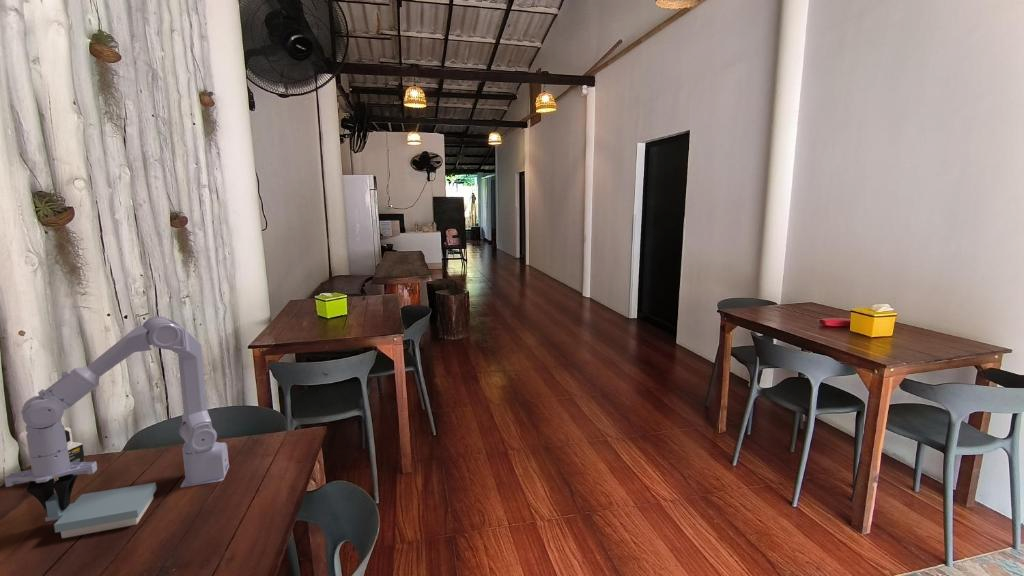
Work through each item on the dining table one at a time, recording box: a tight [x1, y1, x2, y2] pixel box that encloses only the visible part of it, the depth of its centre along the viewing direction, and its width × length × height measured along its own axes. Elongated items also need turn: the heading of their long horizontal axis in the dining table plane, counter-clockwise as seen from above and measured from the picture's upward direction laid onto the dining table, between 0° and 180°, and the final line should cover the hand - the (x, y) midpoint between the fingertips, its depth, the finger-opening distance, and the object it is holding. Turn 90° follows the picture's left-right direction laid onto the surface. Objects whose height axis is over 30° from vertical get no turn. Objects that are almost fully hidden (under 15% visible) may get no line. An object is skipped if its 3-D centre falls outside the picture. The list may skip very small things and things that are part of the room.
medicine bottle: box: [54, 426, 86, 482], centre depth 121 cm, size 7×7×12 cm
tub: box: [60, 494, 154, 539], centre depth 103 cm, size 13×10×4 cm
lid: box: [44, 482, 157, 533], centre depth 102 cm, size 17×11×5 cm, turn 111°
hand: (58, 508), depth 100 cm, fingers closed on lid
